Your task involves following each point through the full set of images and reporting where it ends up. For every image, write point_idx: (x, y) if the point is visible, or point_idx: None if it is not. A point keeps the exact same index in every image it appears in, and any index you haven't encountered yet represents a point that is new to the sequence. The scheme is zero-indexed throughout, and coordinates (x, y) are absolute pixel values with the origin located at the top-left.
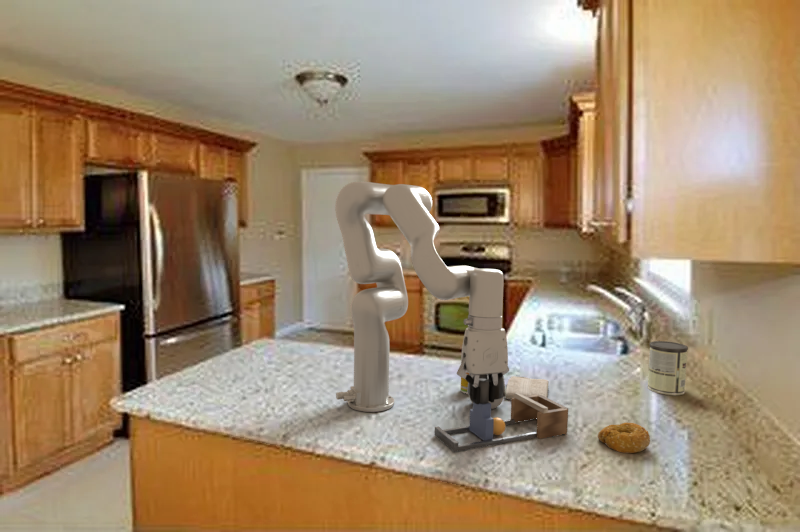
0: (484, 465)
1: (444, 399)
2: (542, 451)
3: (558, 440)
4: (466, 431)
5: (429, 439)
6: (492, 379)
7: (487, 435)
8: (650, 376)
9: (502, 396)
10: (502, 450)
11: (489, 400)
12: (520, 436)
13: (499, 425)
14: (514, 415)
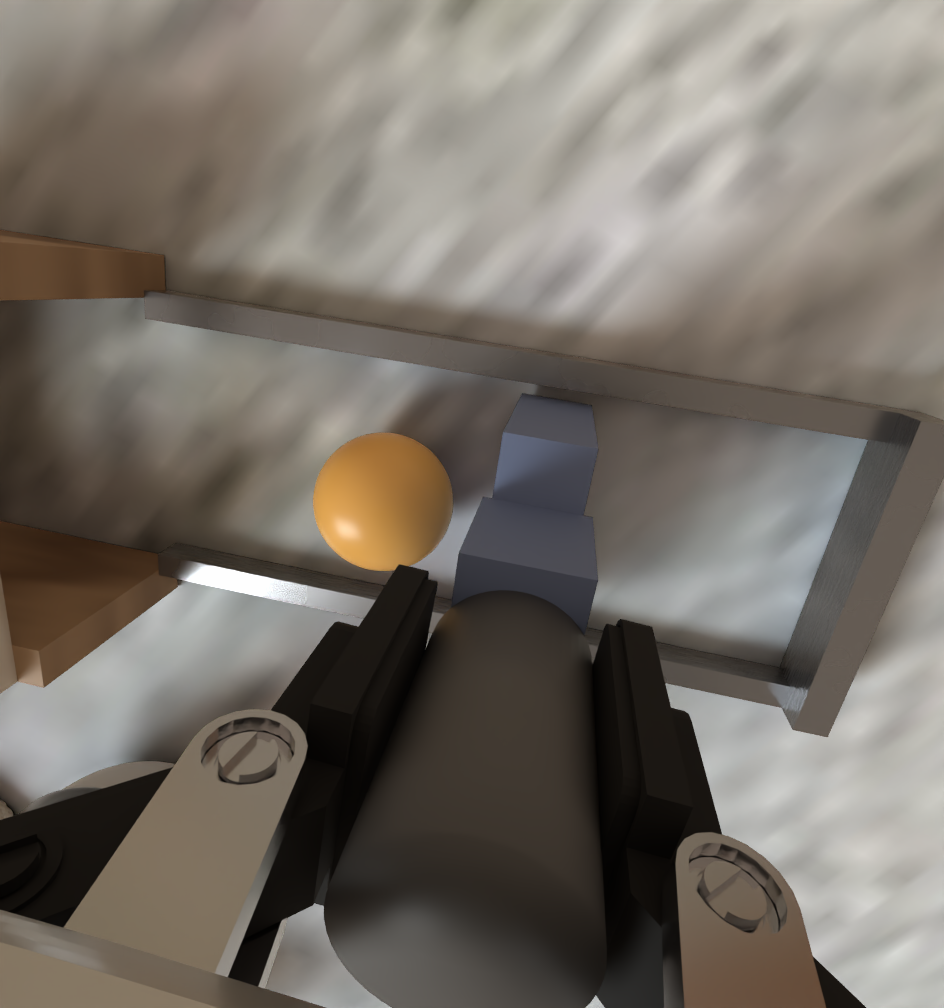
0: (917, 73)
1: (354, 988)
2: (280, 53)
3: (45, 161)
4: None
5: (888, 666)
6: (277, 849)
7: (574, 411)
8: None
9: (61, 795)
10: (557, 240)
11: (429, 619)
12: (297, 315)
13: (395, 457)
14: (134, 580)
